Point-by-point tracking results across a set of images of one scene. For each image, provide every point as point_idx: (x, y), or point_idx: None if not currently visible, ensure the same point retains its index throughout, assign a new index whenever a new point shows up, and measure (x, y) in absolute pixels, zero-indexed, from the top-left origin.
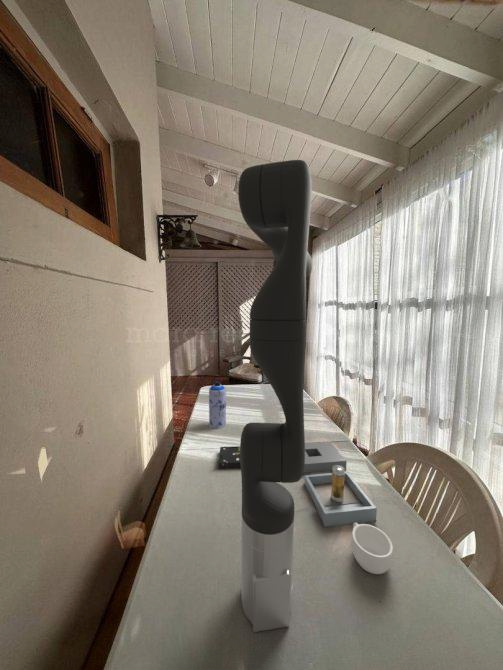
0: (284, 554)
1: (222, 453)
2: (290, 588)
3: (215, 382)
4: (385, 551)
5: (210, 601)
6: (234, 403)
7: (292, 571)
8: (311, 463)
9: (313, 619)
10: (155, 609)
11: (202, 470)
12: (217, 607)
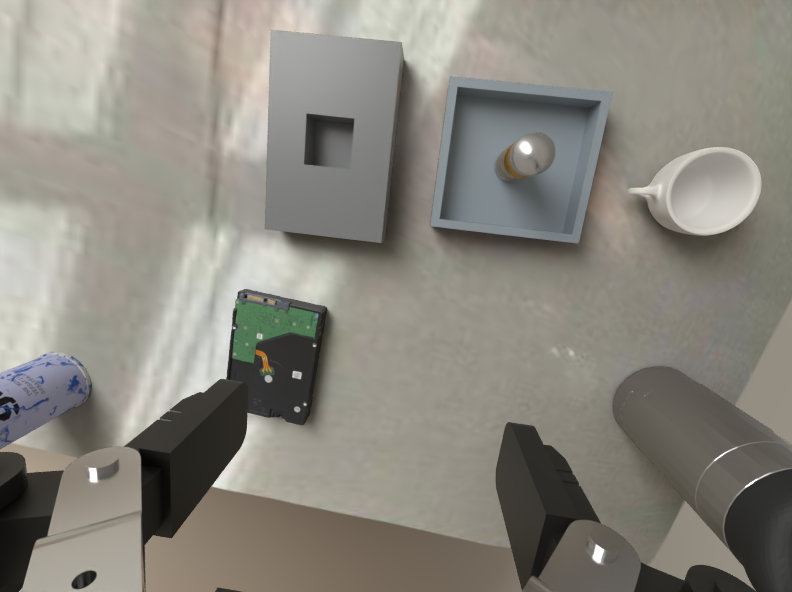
0: None
1: (260, 408)
2: (752, 417)
3: None
4: (704, 160)
5: (621, 475)
6: None
7: (730, 404)
8: (387, 179)
9: (708, 347)
10: None
11: (308, 452)
12: (633, 468)
